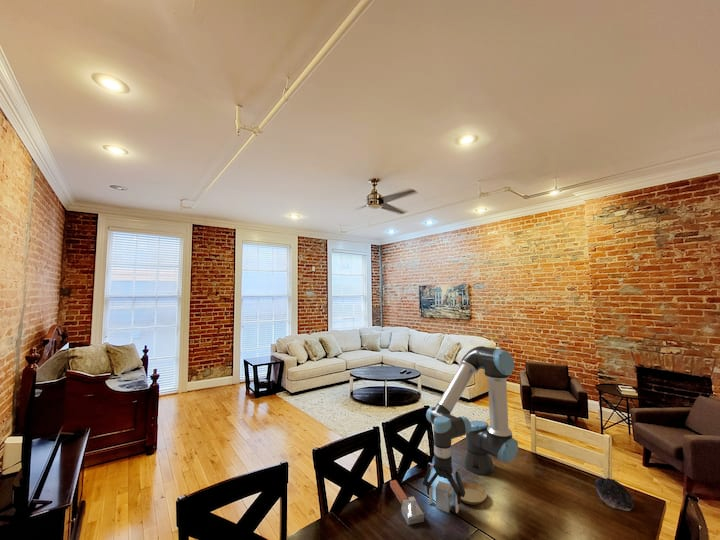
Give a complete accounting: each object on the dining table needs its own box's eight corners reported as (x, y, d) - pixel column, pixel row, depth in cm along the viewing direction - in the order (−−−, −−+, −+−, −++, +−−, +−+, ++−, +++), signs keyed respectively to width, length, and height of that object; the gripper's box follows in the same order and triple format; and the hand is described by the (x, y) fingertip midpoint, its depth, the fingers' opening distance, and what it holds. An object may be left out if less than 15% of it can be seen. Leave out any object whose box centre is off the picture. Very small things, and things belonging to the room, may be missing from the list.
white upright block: (435, 508, 137) (435, 487, 138) (439, 501, 142) (439, 480, 143) (448, 513, 135) (448, 491, 135) (452, 505, 140) (451, 484, 140)
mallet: (386, 486, 153) (386, 470, 154) (399, 484, 155) (399, 468, 155) (408, 524, 128) (407, 505, 129) (423, 521, 130) (423, 502, 130)
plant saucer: (470, 512, 135) (470, 506, 136) (446, 493, 148) (446, 487, 149) (494, 501, 142) (494, 495, 142) (469, 483, 155) (469, 478, 155)
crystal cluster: (641, 507, 138) (638, 482, 140) (627, 515, 132) (624, 489, 133) (605, 493, 150) (603, 470, 152) (591, 499, 143) (589, 475, 145)
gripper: (414, 451, 142) (415, 502, 141) (468, 465, 131) (469, 521, 129) (420, 444, 149) (421, 493, 147) (471, 457, 137) (473, 510, 136)
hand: (443, 506), depth 138 cm, fingers open, 11 cm apart
